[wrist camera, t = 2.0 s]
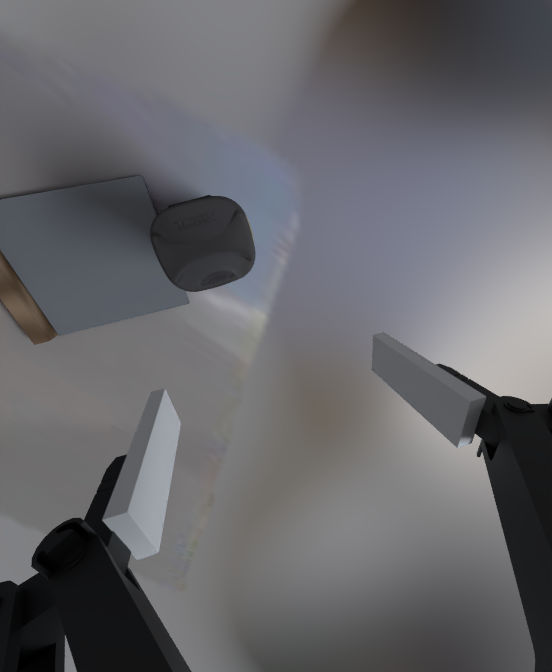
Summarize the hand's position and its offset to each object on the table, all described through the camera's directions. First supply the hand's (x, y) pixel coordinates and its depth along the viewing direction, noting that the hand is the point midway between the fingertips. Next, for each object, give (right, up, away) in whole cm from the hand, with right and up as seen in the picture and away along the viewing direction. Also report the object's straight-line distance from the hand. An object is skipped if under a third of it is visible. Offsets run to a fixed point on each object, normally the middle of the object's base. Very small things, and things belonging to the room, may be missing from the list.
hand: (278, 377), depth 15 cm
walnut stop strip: (-37, +10, +18) cm, 42 cm away
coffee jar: (-11, +18, +22) cm, 30 cm away
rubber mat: (-26, +13, +20) cm, 35 cm away
